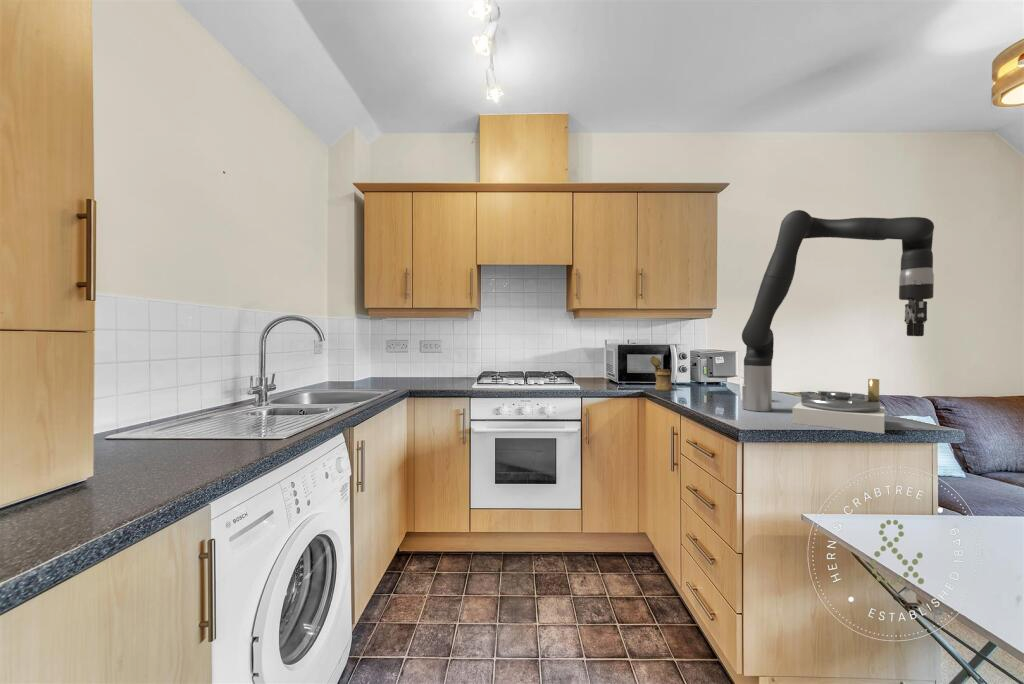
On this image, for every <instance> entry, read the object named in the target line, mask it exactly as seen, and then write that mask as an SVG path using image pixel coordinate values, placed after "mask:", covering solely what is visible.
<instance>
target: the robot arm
mask: <svg viewBox="0 0 1024 684" xmlns="http://www.w3.org/2000/svg"><path fill="white" fill-rule="evenodd" d="M779 227H780V228H779V232H778V236H777V240H776V245H775V247H774V250H773V252H772V254H771V257H770V260H769V262H768V264H767V267H766V270H765V272H764V274H763V277H762V280H761V283H760V286H759V290H758V292H757V294H756V295H757V296H756V299H755V301H754V305H753V309H752V311H751V314H750V315H749V318H748V320H747V322H746V323H745V326H744V327H743V330H742V332H741V340H742V342H743V344H744V345H745V346H746V353H745V355H744V358H743V377H744V384H743V385H742V400H741V401H742V404H741V405H742V407H741V408H742V410H748V411H753V412H771V411H773V410H772V409H773V405H772V404H773V403H772V402H773V401H772V399H773V398H772V396H773V395H772V394H773V390H772V389H773V387H772V384H773V380H772V379H773V377H772V376H773V371H772V370H773V368H772V366H773V363H772V362H773V358H774V344H775V343H774V338H775V337H774V332H773V331H772V328H771V325H772V322H773V319H774V317H775V314H776V312H777V310H778V309H779V307H780V306H781V305H782V303H783V301H784V300H785V299H786V296H787V295H788V292H789V291H790V287H791V286H792V282H793V279H794V276H795V272H796V266H797V258H798V257H797V256H798V252H799V249H800V246H801V244H802V242H803V240H804V239H816V238H818V239H820V238H832V239H833V238H835V239H850V240H853V239H854V240H864V241H865V240H866V241H867V240H868V241H884V240H901V249H902V250H901V252H902V254H901V258H900V273H899V281H898V282H899V284H898V285H899V286H898V287H899V288H898V299H899V300H901V301H908V303H905V305H904V308H905V309H904V320H903V321H904V322H905V325H906V336H907V337H923V336H924V334H925V324H926V322H927V321H928V301H924V300H930V299H933V298H934V282H935V281H934V280H935V276H934V275H935V274H934V255H933V250H932V249H933V240H934V239H933V238H934V230H935V224H934V222H933V221H932V220H931V219H930V218H926V217H920V216H909V217H908V216H907V217H905V216H904V217H893V218H892V217H891V218H888V217H887V218H886V217H853V218H841V219H838V218H837V219H829V218H819V217H815V216H814V217H813V216H811V214H810V213H808V212H807V211H805V210H802V209H796V210H792V211H791V212H789V213H787V214H786V215H785V216H784V217H783V219H782V220H781V223H780V226H779Z"/></svg>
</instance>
